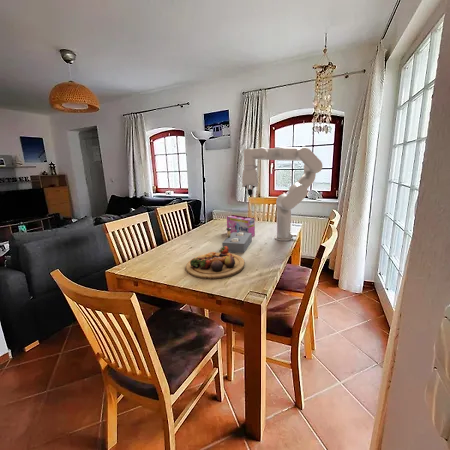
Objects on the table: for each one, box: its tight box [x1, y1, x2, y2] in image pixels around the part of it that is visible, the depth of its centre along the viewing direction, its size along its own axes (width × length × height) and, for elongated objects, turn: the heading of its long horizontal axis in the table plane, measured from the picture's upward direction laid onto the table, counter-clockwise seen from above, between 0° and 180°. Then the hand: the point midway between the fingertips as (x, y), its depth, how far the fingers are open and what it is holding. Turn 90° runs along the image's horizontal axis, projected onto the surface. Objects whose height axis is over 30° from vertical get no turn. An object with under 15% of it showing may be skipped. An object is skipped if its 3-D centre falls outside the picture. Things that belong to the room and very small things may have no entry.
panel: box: [221, 232, 253, 254], centre depth 164 cm, size 14×24×6 cm, turn 163°
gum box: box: [226, 214, 256, 237], centre depth 192 cm, size 24×8×14 cm, turn 45°
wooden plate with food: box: [185, 246, 246, 280], centre depth 134 cm, size 32×32×8 cm
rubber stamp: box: [226, 227, 231, 238], centre depth 165 cm, size 3×3×6 cm
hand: (250, 195), depth 168 cm, fingers closed
